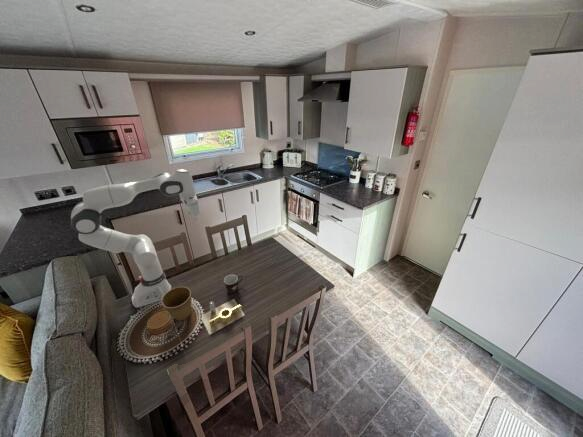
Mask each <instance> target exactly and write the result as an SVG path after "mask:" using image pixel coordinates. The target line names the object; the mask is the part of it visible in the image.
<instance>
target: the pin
mask: <svg viewBox="0 0 583 437" xmlns="http://www.w3.org/2000/svg"><path fill="white" fill-rule="evenodd" d="M208 306H209V311H210V312H211V315H214V314H216V309H215V308H216V305H215V302H214V301H213V300H211V301H209V302H208Z"/></svg>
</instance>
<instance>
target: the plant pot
mask: <svg viewBox="0 0 583 437" xmlns="http://www.w3.org/2000/svg"><path fill="white" fill-rule="evenodd" d="M191 291H192V290H190V288H188V287H187V286H178V287H174V288H171V290H170V291H168V292H167V293H166V294H165V295H164V296H163V298H162V300H161V305H162V306H163V308H164V309H165V310H166V311H167V313H168V314H169V315H170V316H171V317H172V318H174V319H175V320H177V321H181V322H182V321H185V320H186V319H188V318H189V317H190V315H191V312H192V311H191V310H192V292H191Z"/></svg>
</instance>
